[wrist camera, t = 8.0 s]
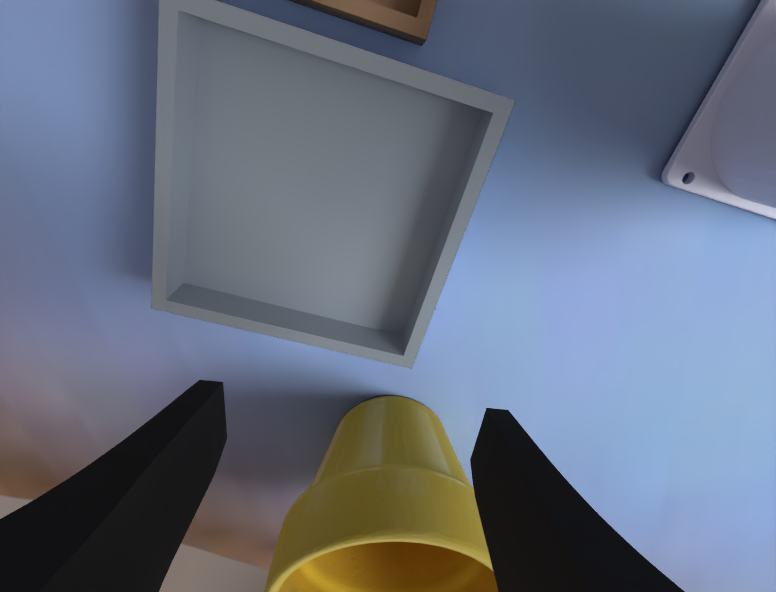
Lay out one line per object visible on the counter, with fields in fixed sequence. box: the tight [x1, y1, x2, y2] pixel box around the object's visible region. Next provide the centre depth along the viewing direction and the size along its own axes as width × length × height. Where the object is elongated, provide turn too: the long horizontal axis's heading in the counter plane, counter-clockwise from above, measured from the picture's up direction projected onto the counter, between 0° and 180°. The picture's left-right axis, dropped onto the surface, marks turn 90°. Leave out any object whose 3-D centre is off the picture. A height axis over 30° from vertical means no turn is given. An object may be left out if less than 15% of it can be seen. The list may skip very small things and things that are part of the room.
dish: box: [151, 0, 516, 369], centre depth 17 cm, size 12×12×2 cm
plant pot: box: [265, 396, 498, 592], centre depth 20 cm, size 10×10×10 cm
